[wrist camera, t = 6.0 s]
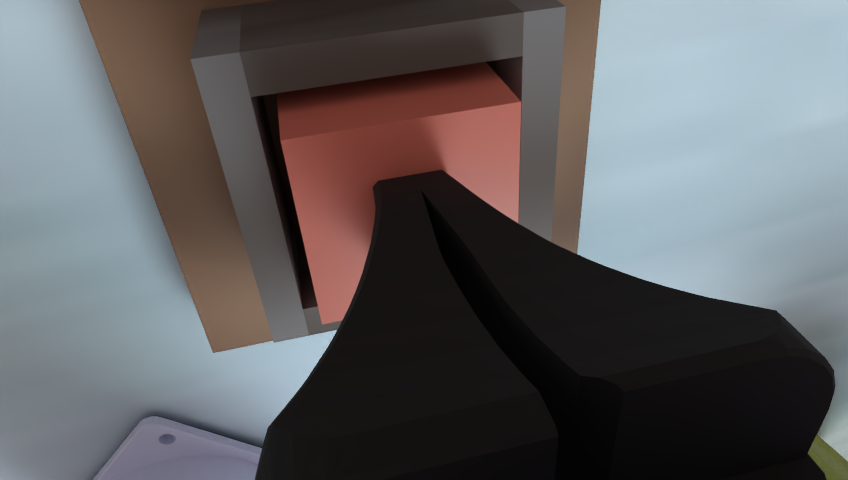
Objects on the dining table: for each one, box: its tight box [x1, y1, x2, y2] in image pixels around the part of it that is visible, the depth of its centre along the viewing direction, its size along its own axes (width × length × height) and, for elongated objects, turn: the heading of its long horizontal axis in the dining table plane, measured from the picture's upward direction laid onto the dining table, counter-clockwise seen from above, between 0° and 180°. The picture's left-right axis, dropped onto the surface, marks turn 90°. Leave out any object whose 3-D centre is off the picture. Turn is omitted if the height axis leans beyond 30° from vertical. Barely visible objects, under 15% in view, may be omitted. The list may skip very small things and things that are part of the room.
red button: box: [276, 62, 521, 324], centre depth 13 cm, size 4×4×3 cm
